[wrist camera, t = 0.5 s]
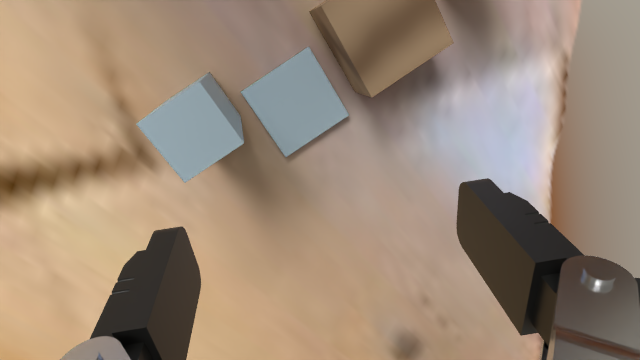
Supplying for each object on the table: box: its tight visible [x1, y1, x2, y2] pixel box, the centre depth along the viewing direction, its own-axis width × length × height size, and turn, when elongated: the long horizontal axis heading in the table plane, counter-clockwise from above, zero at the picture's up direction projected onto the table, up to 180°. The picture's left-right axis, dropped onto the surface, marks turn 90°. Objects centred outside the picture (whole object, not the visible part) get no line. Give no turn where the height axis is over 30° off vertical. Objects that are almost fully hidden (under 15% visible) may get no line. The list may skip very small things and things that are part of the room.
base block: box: [309, 0, 453, 98], centre depth 33 cm, size 8×8×5 cm
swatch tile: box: [241, 47, 349, 157], centre depth 36 cm, size 7×7×1 cm
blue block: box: [137, 72, 244, 182], centre depth 30 cm, size 4×4×11 cm
